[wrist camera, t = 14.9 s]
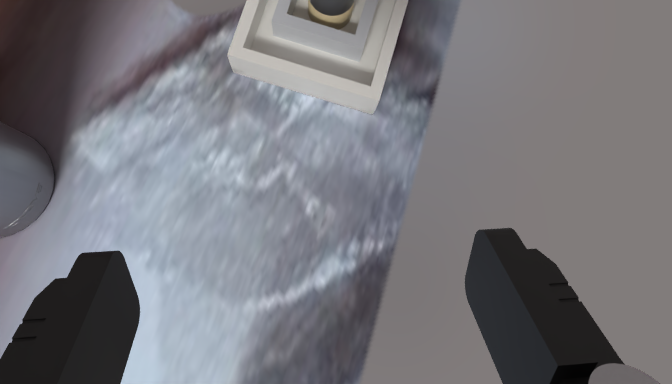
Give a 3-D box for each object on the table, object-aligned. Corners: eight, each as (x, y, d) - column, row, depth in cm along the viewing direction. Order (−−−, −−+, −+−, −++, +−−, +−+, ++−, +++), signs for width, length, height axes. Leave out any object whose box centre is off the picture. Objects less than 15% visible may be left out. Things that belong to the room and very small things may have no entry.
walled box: (233, 72, 41) (227, 54, 38) (287, -78, 44) (285, -108, 41) (372, 115, 42) (379, 101, 38) (417, -38, 45) (426, -64, 41)
